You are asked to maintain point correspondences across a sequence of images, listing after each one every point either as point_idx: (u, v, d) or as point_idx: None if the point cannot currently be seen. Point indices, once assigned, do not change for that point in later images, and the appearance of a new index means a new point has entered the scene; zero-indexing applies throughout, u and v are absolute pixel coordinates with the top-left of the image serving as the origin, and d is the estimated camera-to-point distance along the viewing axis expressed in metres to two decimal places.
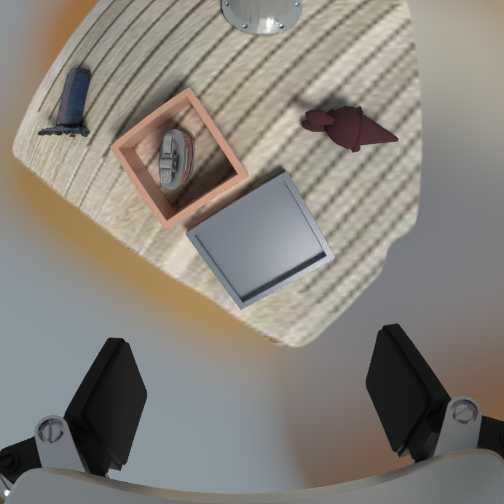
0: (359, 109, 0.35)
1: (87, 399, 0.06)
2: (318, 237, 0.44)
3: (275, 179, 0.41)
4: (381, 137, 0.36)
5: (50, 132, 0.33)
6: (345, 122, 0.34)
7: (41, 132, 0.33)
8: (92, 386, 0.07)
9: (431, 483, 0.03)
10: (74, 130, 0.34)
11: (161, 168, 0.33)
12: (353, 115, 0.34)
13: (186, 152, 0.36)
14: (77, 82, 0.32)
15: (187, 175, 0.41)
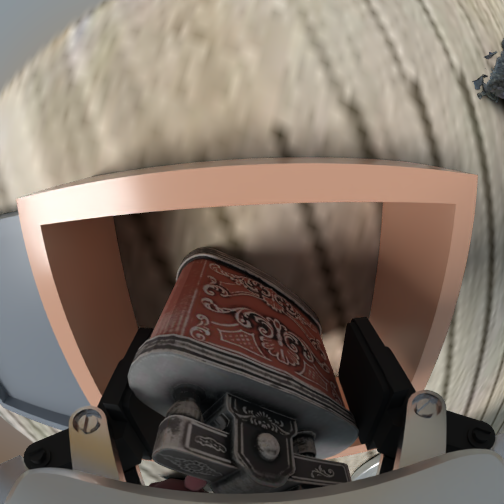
0: None
1: (125, 387, 0.07)
2: (25, 413, 0.16)
3: None
4: None
5: None
6: None
7: None
8: None
9: (431, 483, 0.03)
10: None
11: (237, 467, 0.05)
12: None
13: None
14: None
15: None
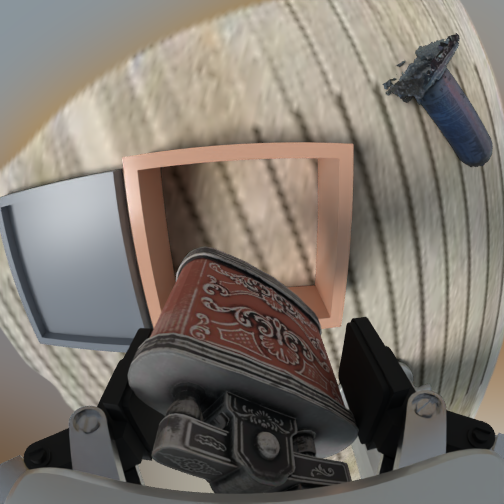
0: None
1: (125, 386, 0.07)
2: (63, 341, 0.26)
3: None
4: None
5: (445, 52, 0.14)
6: None
7: (456, 41, 0.13)
8: None
9: (431, 483, 0.03)
10: (420, 90, 0.15)
11: (237, 465, 0.05)
12: None
13: None
14: (473, 147, 0.18)
15: None
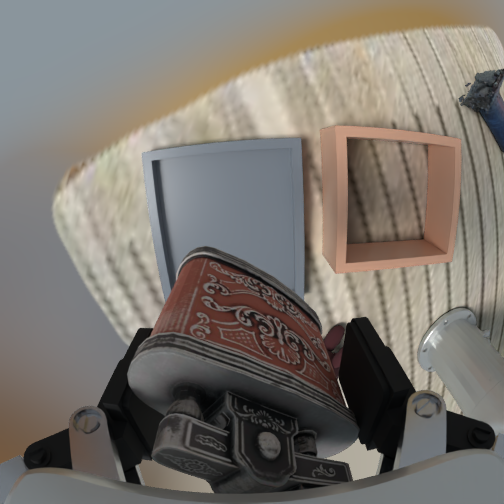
0: None
1: (125, 387, 0.07)
2: None
3: (302, 286, 0.32)
4: None
5: (498, 81, 0.19)
6: None
7: None
8: None
9: (431, 483, 0.03)
10: (487, 105, 0.21)
11: (237, 465, 0.05)
12: None
13: None
14: None
15: None
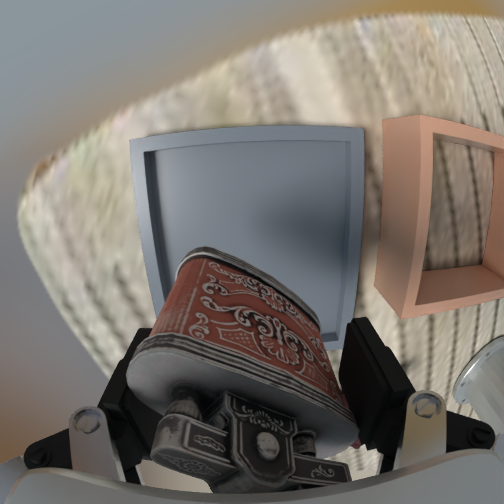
0: None
1: (125, 387, 0.07)
2: None
3: None
4: None
5: None
6: None
7: None
8: None
9: (431, 483, 0.03)
10: None
11: (236, 466, 0.05)
12: None
13: None
14: None
15: None
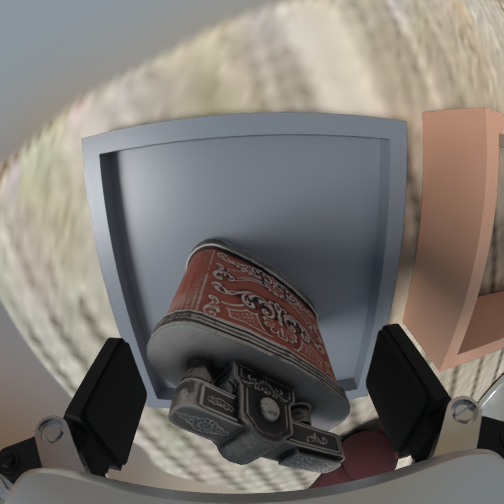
0: None
1: (87, 398, 0.06)
2: None
3: None
4: None
5: None
6: None
7: None
8: (92, 386, 0.07)
9: (431, 483, 0.03)
10: None
11: (243, 424, 0.06)
12: None
13: None
14: None
15: None
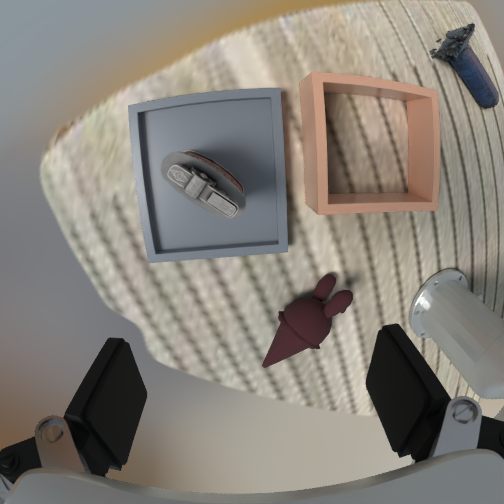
0: None
1: (87, 398, 0.06)
2: (185, 253, 0.32)
3: (285, 234, 0.31)
4: (279, 354, 0.34)
5: (467, 33, 0.19)
6: (321, 329, 0.32)
7: (473, 27, 0.18)
8: (92, 386, 0.07)
9: (431, 483, 0.03)
10: (456, 52, 0.20)
11: (192, 174, 0.21)
12: (321, 339, 0.32)
13: None
14: (487, 93, 0.24)
15: None
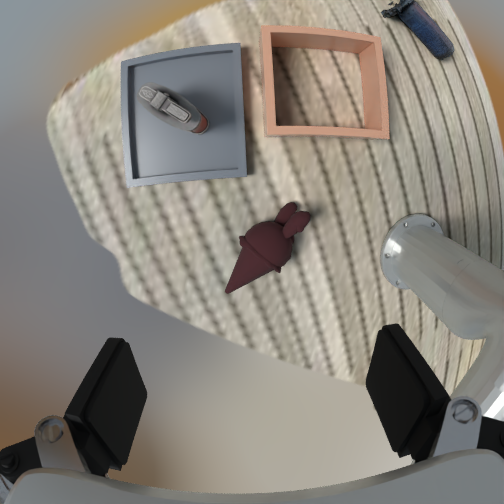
0: (280, 269, 0.36)
1: (87, 398, 0.06)
2: (157, 177, 0.35)
3: (244, 160, 0.34)
4: (239, 276, 0.37)
5: None
6: (278, 247, 0.34)
7: None
8: (92, 386, 0.07)
9: (431, 483, 0.03)
10: (399, 6, 0.23)
11: (157, 92, 0.24)
12: (280, 259, 0.35)
13: None
14: (439, 43, 0.26)
15: None
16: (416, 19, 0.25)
